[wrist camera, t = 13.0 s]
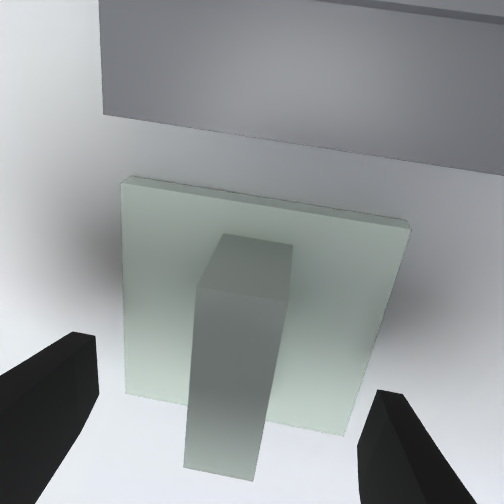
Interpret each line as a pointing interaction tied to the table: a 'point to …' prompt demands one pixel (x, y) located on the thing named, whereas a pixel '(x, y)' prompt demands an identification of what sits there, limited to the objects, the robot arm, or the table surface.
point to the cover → (250, 312)
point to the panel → (316, 73)
